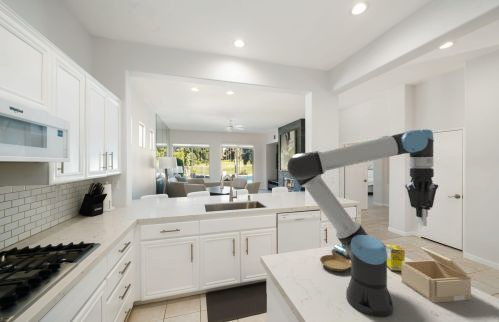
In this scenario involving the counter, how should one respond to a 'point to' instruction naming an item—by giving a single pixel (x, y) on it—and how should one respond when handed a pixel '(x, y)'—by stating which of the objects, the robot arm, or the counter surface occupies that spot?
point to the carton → (436, 281)
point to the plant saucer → (335, 263)
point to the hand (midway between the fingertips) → (421, 224)
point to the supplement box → (395, 257)
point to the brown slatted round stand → (340, 251)
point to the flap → (444, 260)
